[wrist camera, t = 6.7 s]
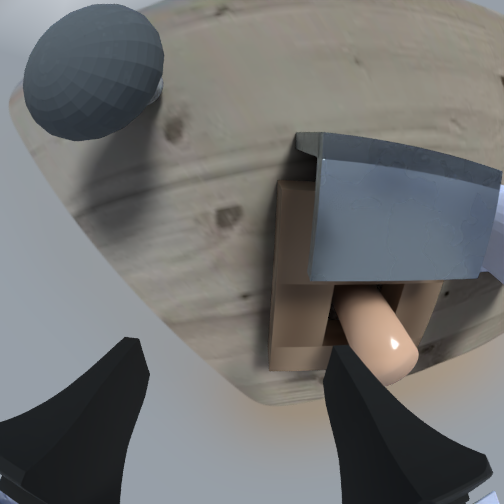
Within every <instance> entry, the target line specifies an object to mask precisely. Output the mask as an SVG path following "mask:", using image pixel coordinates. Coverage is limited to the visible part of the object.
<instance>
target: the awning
mask: <svg viewBox="0 0 504 504" xmlns="http://www.w3.org/2000/svg"><path fill="white" fill-rule="evenodd" d="M295 149H298V150H301V151H303V152H306V153H308V154H311V155H313V156H316V157H317V173H316V187H315V199H314V211H313V222H312V232H311V242H310V251H309V260H308V269H307V273H308V276H309V279H310V281H411V280H448V279H474V278H478V276H479V273H480V270H481V267H482V264H483V260H484V257H485V254H486V250H487V247H488V243H489V239H490V236H491V232H492V227H493V223H494V219H495V214H496V209H497V204H498V198H499V192H500V186H501V179H502V171H500V170H497V169H494V168H491V167H488V166H485V165H482V164H479V163H476V162H472V161H469V160H466V159H462V158H459V157H455V156H451V155H448V154H444V153H440V152H436V151H432V150H428V149H423V148H419V147H414V146H410V145H405V144H400V143H394V142H389V141H383V140H378V139H371V138H365V137H358V136H351V135H343V134H335V133H325V132H296V148H295Z"/></svg>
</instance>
